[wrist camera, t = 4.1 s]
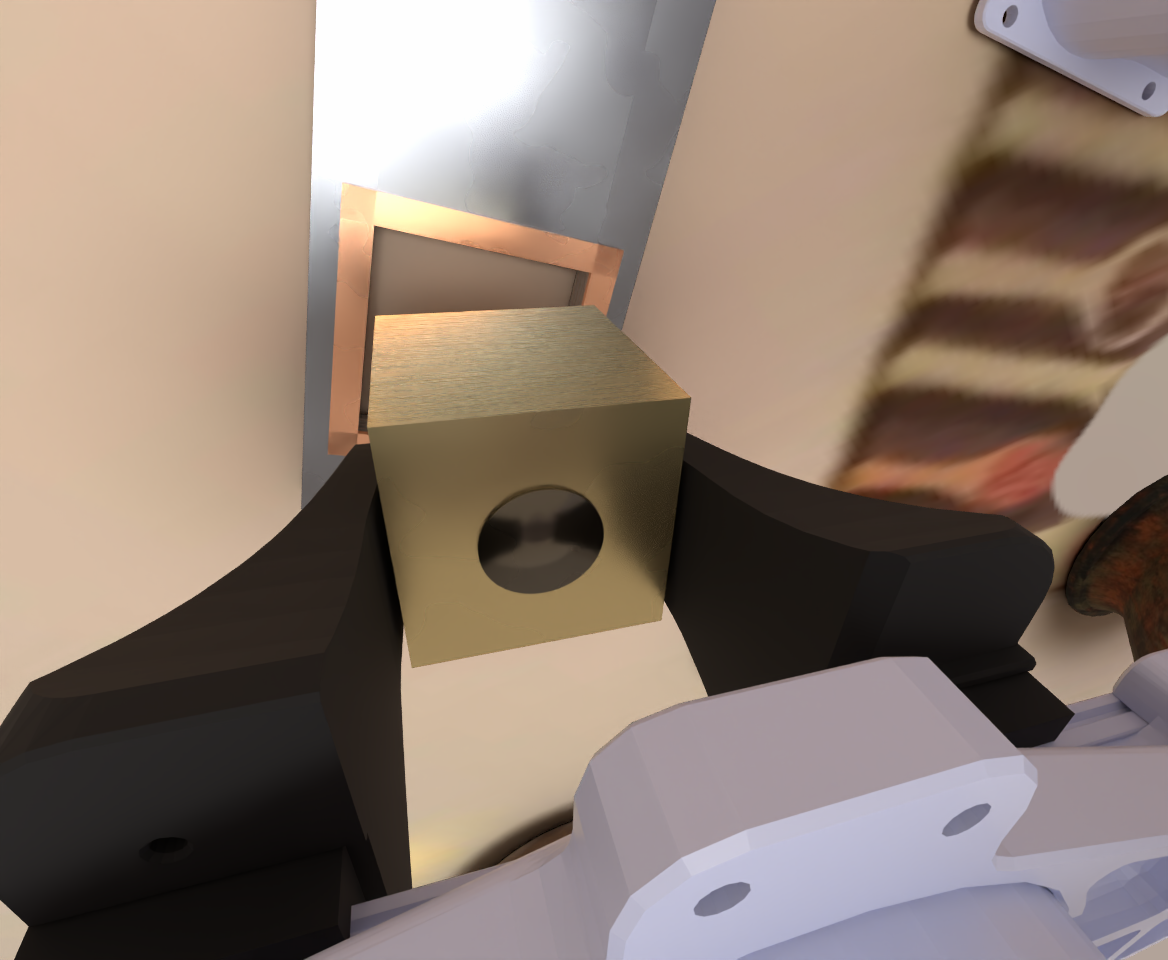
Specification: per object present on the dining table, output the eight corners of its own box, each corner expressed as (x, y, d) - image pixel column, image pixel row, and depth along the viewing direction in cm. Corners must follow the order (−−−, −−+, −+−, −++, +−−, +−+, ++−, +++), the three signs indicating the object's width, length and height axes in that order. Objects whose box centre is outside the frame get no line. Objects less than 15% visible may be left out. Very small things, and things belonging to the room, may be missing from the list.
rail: (876, -653, 11) (933, -740, 10) (558, 505, 23) (567, 526, 22) (362, -1179, 8) (358, -1402, 7) (305, 489, 20) (300, 512, 19)
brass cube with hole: (594, 305, 13) (693, 399, 8) (587, 481, 15) (662, 622, 11) (375, 316, 12) (366, 430, 7) (405, 504, 14) (412, 670, 10)
